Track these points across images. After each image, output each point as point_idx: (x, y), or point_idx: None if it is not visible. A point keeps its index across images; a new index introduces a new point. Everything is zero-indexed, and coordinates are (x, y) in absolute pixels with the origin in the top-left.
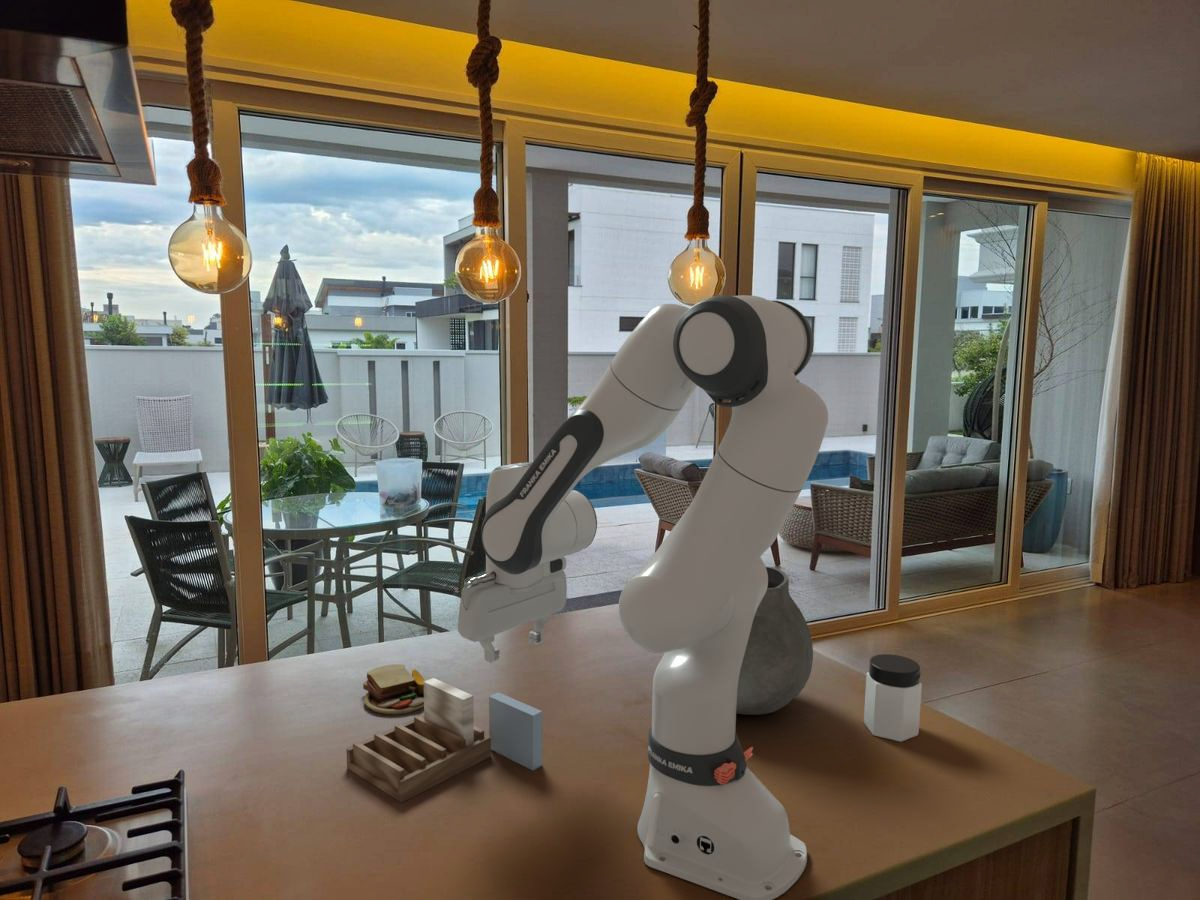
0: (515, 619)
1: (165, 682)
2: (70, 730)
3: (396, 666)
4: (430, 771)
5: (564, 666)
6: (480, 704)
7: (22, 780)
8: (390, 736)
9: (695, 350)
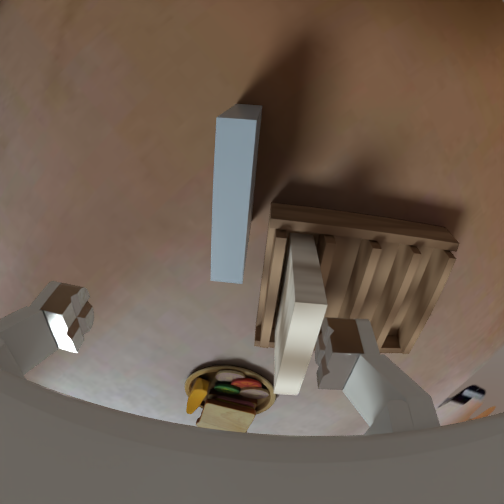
0: (226, 493)
1: None
2: None
3: (206, 427)
4: (410, 233)
5: (14, 288)
6: (158, 317)
7: None
8: None
9: None
